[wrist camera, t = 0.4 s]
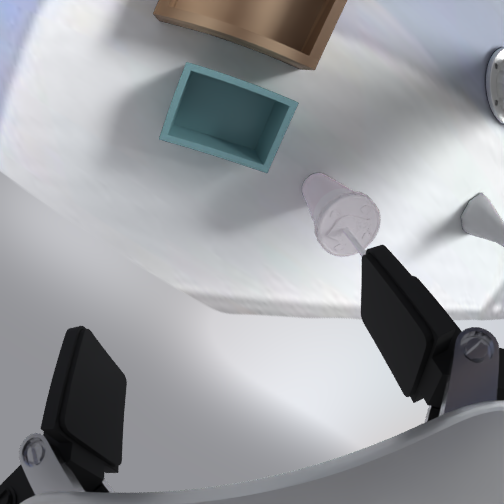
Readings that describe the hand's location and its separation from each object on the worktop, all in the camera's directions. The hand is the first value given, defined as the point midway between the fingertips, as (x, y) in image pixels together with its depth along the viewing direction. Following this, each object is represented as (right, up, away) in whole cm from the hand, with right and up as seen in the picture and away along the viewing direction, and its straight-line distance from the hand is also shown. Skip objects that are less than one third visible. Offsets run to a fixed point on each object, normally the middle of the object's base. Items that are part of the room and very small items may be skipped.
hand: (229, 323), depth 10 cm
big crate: (+1, +29, +12) cm, 31 cm away
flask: (+36, +9, +32) cm, 49 cm away
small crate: (-2, +17, +20) cm, 26 cm away
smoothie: (+8, +10, +26) cm, 29 cm away
